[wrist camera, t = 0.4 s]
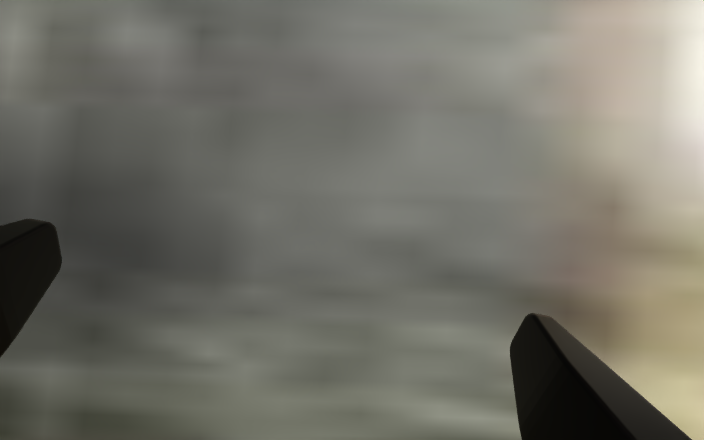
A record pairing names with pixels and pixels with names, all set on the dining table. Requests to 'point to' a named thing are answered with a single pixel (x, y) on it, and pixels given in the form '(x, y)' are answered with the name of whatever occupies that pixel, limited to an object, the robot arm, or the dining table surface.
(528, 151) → the dining table surface
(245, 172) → the dining table surface
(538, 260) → the dining table surface
